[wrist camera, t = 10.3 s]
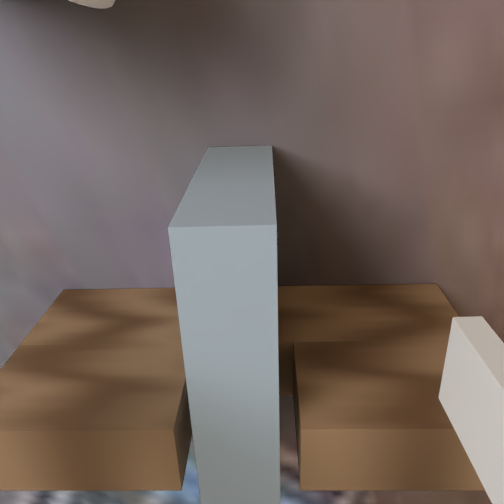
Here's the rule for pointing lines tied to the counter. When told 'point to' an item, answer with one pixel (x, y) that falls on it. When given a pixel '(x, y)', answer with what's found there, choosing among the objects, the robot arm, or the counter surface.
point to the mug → (95, 3)
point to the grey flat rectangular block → (230, 322)
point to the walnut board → (176, 396)
